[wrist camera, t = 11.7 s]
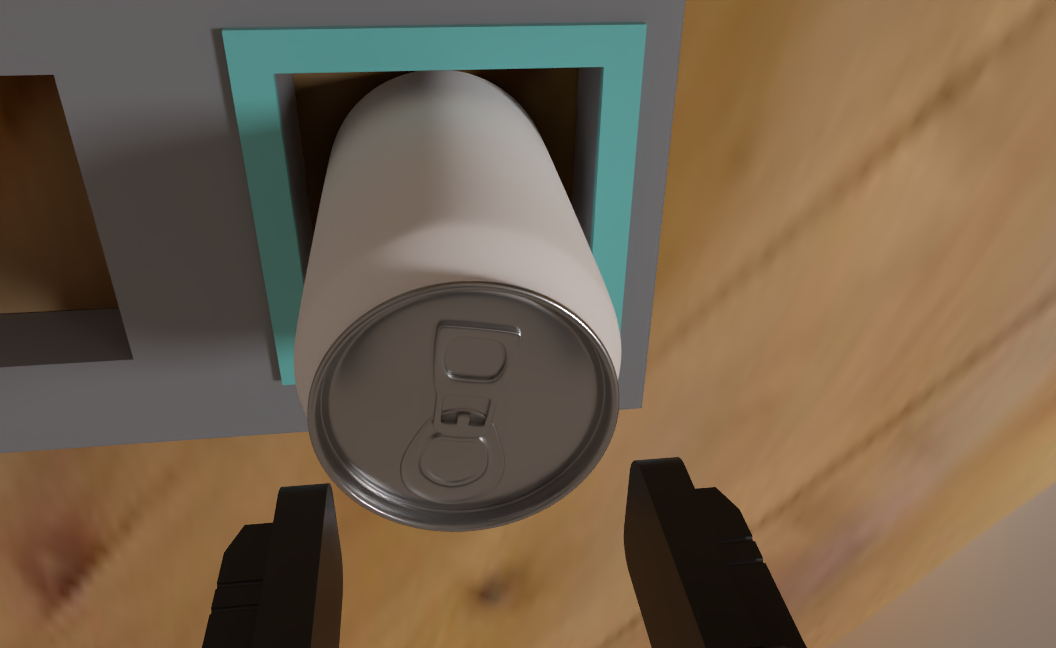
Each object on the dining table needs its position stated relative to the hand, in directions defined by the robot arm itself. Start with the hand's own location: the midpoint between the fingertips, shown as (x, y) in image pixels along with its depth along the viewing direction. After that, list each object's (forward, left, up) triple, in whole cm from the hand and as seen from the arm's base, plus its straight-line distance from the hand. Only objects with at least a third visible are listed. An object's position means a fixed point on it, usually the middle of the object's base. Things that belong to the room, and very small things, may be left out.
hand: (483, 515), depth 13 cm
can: (0, 0, -15) cm, 15 cm away
